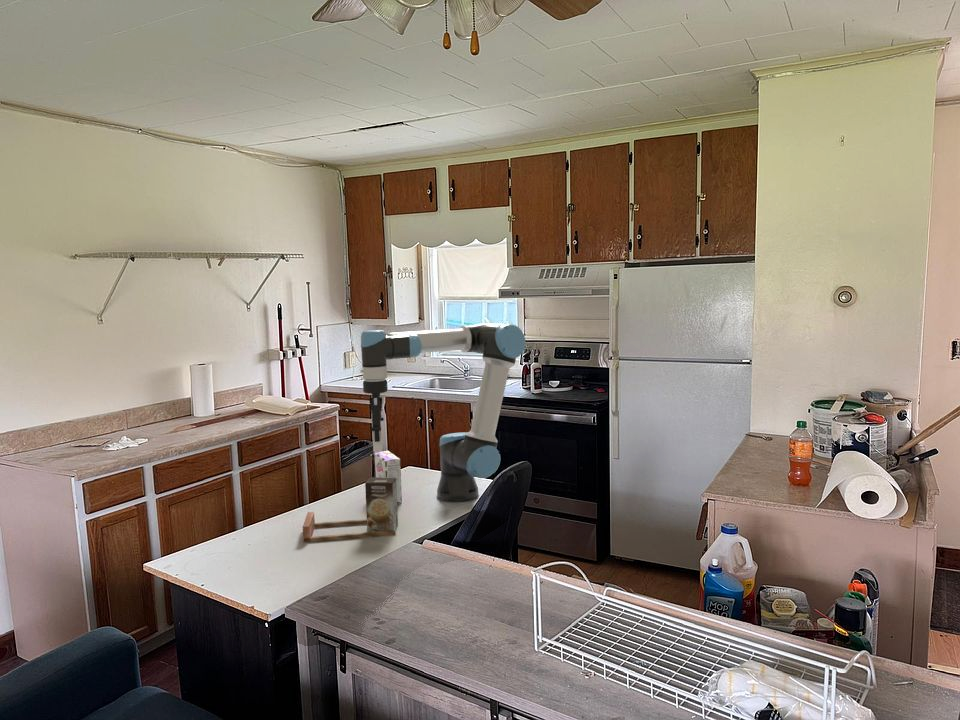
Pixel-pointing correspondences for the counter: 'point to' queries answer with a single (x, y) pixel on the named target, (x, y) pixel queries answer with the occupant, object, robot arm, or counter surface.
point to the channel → (310, 525)
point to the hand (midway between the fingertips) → (378, 446)
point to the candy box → (389, 469)
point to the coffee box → (381, 504)
